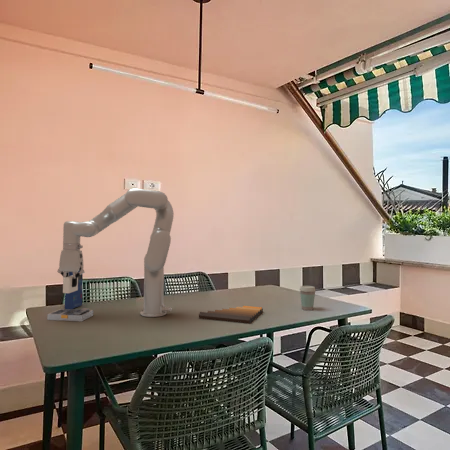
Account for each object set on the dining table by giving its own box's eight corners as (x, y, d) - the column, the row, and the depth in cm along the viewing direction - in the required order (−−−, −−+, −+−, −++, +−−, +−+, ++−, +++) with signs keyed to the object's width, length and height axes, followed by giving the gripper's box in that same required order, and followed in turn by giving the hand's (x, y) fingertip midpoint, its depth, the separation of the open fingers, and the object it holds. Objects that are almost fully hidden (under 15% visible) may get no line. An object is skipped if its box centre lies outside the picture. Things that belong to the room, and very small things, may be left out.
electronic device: (72, 309, 196) (73, 270, 196) (63, 308, 197) (64, 270, 197) (83, 305, 205) (83, 268, 205) (74, 305, 206) (75, 268, 206)
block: (77, 290, 183) (78, 275, 183) (69, 293, 175) (69, 278, 175) (71, 289, 183) (72, 275, 183) (62, 293, 175) (63, 277, 175)
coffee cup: (317, 308, 205) (317, 286, 205) (313, 311, 198) (314, 288, 198) (301, 306, 209) (301, 285, 209) (297, 309, 201) (297, 287, 201)
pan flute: (198, 319, 180) (249, 325, 172) (198, 312, 180) (249, 317, 172) (217, 309, 204) (262, 313, 195) (217, 302, 204) (262, 306, 195)
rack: (93, 315, 183) (93, 308, 183) (81, 321, 172) (81, 313, 172) (60, 314, 185) (60, 306, 185) (46, 319, 174) (47, 312, 174)
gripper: (91, 247, 182) (90, 286, 182) (59, 246, 184) (58, 284, 183) (84, 248, 174) (83, 288, 174) (50, 247, 176) (49, 287, 176)
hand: (70, 286), depth 179 cm, fingers closed on block, 2 cm apart
